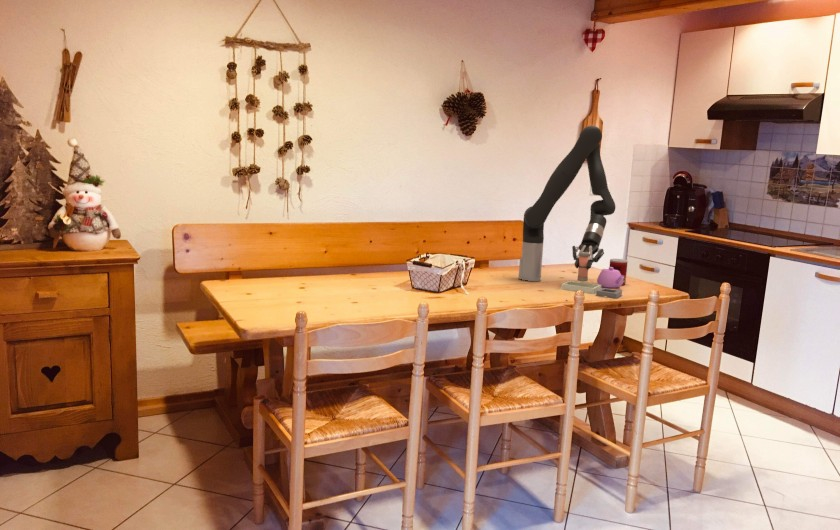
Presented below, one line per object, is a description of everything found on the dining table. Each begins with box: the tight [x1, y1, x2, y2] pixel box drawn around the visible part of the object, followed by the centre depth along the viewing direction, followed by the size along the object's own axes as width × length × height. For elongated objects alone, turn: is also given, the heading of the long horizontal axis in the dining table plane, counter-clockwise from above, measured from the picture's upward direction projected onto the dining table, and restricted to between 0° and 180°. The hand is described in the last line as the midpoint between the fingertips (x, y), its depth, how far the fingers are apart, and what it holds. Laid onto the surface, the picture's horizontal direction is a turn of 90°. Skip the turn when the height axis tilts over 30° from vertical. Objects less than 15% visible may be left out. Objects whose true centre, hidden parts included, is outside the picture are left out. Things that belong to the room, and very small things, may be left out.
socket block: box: [594, 287, 623, 300], centre depth 288 cm, size 9×11×3 cm
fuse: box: [577, 251, 590, 282], centre depth 297 cm, size 4×4×12 cm
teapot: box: [596, 267, 624, 289], centre depth 307 cm, size 10×15×9 cm
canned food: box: [608, 258, 628, 286], centre depth 319 cm, size 8×8×11 cm
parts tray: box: [560, 280, 602, 295], centre depth 298 cm, size 14×10×3 cm
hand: (581, 267), depth 295 cm, fingers closed on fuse, 4 cm apart
